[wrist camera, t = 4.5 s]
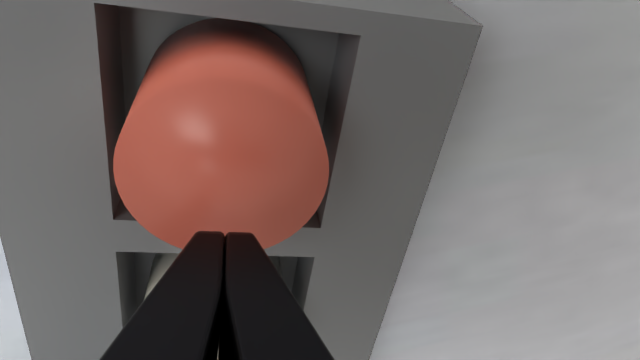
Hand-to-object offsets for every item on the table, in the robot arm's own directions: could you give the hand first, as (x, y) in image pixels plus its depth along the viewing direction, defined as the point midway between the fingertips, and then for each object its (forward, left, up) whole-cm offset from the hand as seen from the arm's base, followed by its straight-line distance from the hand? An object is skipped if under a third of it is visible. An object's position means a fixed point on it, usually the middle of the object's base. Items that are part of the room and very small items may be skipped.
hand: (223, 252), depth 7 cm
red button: (0, 0, -6) cm, 6 cm away
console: (-6, 0, -7) cm, 9 cm away
